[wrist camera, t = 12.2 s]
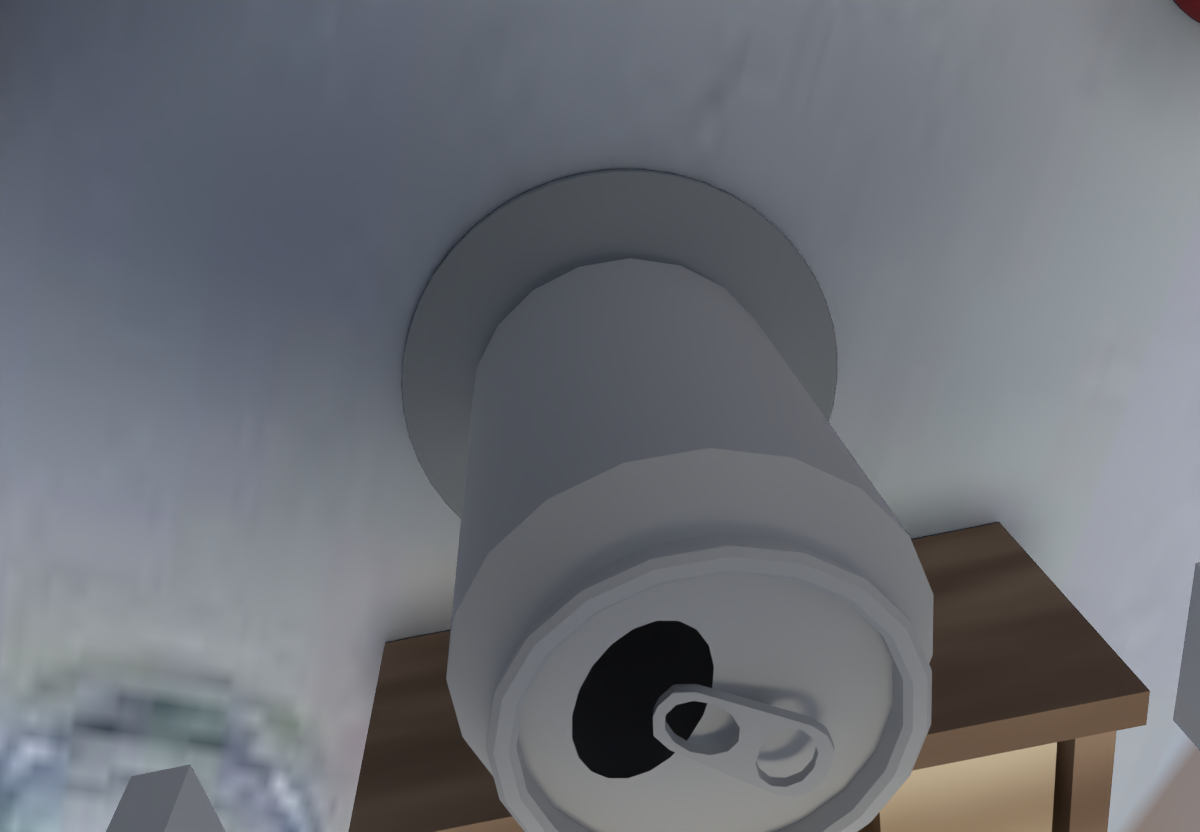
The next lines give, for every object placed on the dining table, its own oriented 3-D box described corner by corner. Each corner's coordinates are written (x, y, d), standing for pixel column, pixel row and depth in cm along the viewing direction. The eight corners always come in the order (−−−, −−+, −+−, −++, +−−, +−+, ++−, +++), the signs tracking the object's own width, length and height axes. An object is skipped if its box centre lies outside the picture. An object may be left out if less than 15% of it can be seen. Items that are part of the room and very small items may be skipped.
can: (522, 207, 21) (531, 446, 10) (816, 299, 23) (1090, 590, 12) (439, 482, 24) (379, 896, 13) (705, 548, 26) (846, 965, 15)
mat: (348, 218, 21) (345, 223, 21) (815, 127, 21) (821, 130, 21) (462, 598, 26) (461, 609, 26) (843, 523, 26) (849, 533, 26)
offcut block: (806, 614, 28) (877, 768, 22) (951, 586, 28) (1057, 734, 22) (817, 737, 30) (885, 905, 24) (952, 711, 30) (1049, 874, 24)
